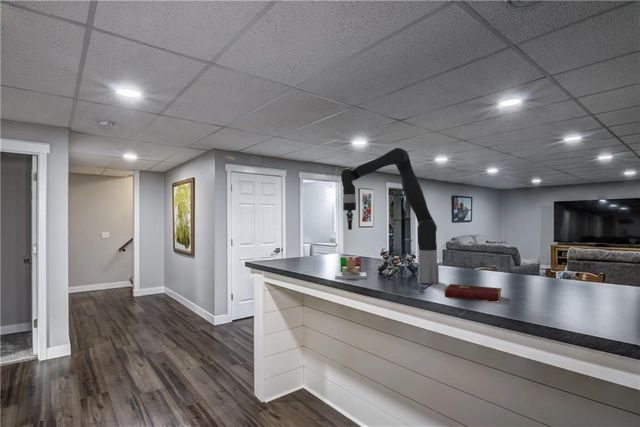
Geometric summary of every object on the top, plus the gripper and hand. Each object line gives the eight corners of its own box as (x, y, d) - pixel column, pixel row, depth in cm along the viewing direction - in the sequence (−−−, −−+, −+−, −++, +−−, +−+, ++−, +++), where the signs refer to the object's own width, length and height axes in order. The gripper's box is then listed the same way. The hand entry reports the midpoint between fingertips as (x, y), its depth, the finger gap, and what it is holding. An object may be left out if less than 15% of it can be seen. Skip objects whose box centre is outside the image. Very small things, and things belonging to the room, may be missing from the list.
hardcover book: (499, 303, 135) (499, 293, 135) (444, 297, 146) (444, 288, 146) (501, 297, 145) (501, 287, 145) (450, 292, 156) (450, 283, 156)
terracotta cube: (354, 266, 203) (354, 256, 203) (355, 267, 198) (354, 257, 198) (346, 266, 203) (346, 256, 204) (346, 267, 198) (346, 257, 199)
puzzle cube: (361, 271, 219) (361, 256, 219) (354, 274, 211) (354, 258, 211) (347, 270, 225) (347, 255, 225) (340, 273, 216) (340, 257, 216)
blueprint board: (365, 274, 207) (365, 272, 207) (366, 278, 193) (366, 276, 193) (336, 274, 208) (336, 272, 209) (335, 278, 195) (335, 276, 195)
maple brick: (359, 273, 203) (359, 266, 203) (359, 274, 198) (359, 267, 198) (342, 273, 204) (342, 266, 204) (342, 274, 199) (342, 267, 199)
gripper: (356, 201, 194) (356, 229, 194) (355, 202, 208) (356, 229, 208) (342, 201, 195) (343, 230, 194) (343, 203, 209) (344, 229, 209)
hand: (350, 229), depth 201 cm, fingers open, 8 cm apart
